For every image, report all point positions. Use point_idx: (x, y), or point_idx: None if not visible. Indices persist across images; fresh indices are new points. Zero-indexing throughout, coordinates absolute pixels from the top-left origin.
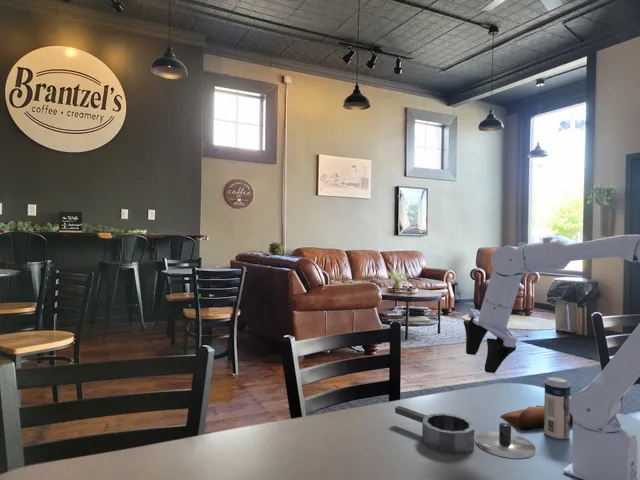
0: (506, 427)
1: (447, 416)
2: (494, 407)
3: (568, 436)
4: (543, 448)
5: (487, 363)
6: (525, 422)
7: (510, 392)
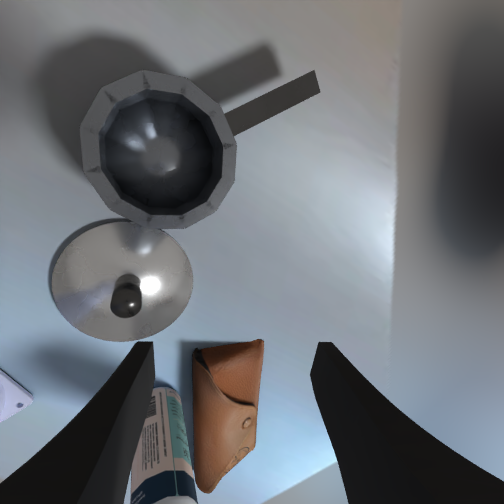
0: (111, 301)
1: (216, 185)
2: (304, 349)
3: None
4: (101, 353)
5: (116, 374)
6: (195, 368)
7: None
